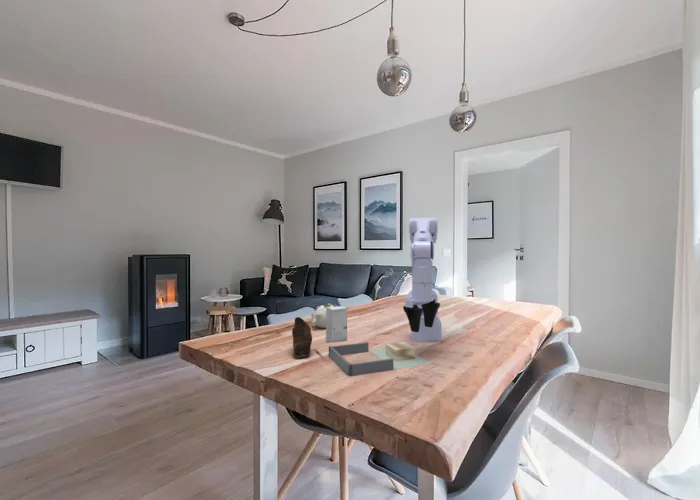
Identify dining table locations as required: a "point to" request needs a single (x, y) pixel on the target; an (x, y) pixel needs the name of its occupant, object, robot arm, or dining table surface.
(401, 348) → the birch tile
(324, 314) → the cat figurine
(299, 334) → the decorative rock
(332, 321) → the skincare box
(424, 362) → the far plate
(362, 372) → the box
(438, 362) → the dining table surface
